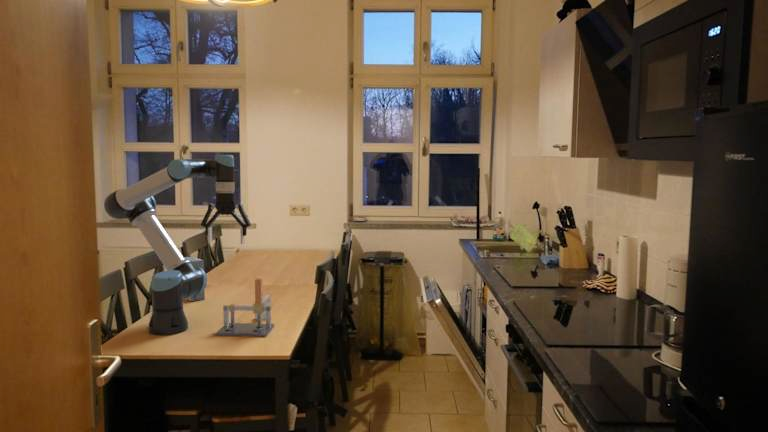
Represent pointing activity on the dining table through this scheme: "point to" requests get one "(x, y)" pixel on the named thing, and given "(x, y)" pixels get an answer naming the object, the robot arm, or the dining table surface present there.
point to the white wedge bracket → (267, 303)
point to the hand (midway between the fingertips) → (226, 243)
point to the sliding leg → (258, 300)
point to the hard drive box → (200, 264)
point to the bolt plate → (245, 330)
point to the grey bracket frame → (244, 308)
